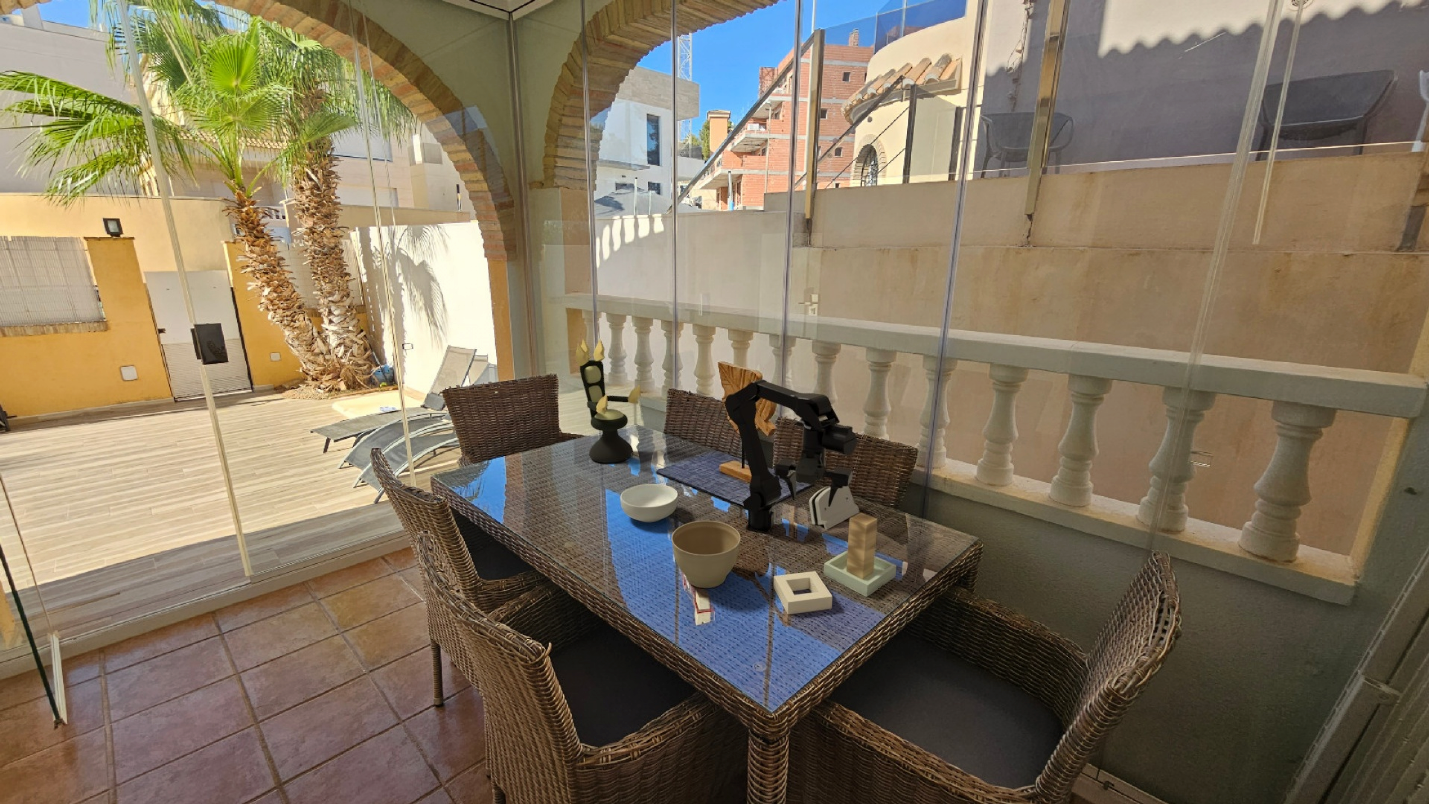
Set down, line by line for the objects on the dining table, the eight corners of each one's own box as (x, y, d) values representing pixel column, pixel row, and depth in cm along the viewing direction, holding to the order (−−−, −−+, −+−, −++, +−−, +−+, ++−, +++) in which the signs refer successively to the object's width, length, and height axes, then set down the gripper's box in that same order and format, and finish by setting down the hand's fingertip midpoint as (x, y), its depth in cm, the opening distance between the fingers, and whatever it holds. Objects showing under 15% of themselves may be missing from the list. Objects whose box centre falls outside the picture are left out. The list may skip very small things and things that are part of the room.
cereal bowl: (690, 515, 161) (689, 493, 159) (647, 536, 149) (646, 512, 148) (652, 499, 172) (651, 478, 170) (609, 517, 161) (608, 495, 159)
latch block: (773, 587, 126) (774, 576, 125) (814, 582, 127) (815, 571, 127) (787, 614, 116) (788, 602, 115) (831, 608, 118) (832, 596, 117)
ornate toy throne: (610, 469, 197) (603, 346, 185) (568, 457, 209) (558, 341, 197) (644, 453, 212) (639, 339, 200) (603, 443, 224) (596, 334, 212)
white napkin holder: (825, 530, 152) (817, 495, 152) (812, 529, 156) (804, 495, 156) (860, 511, 163) (852, 479, 163) (847, 511, 166) (839, 479, 166)
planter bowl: (686, 605, 120) (685, 561, 117) (663, 568, 134) (662, 528, 131) (751, 587, 126) (752, 545, 123) (723, 554, 140) (723, 515, 137)
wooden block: (846, 571, 130) (849, 518, 126) (857, 564, 133) (860, 512, 129) (862, 579, 127) (866, 525, 123) (873, 572, 130) (877, 519, 126)
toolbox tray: (823, 574, 131) (824, 563, 130) (852, 556, 138) (853, 546, 137) (866, 597, 122) (867, 585, 121) (895, 576, 129) (896, 565, 129)
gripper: (767, 450, 132) (766, 509, 136) (845, 461, 124) (841, 523, 128) (781, 437, 141) (780, 492, 145) (854, 446, 134) (850, 504, 138)
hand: (811, 503), depth 139 cm, fingers open, 9 cm apart
